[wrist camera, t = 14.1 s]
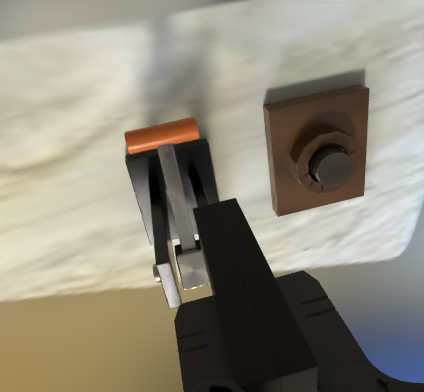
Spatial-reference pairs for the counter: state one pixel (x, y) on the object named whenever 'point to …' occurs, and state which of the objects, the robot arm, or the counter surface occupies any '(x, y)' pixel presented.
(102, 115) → the counter surface
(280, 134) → the button block
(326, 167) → the button
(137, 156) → the switch bracket
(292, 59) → the counter surface
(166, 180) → the switch
